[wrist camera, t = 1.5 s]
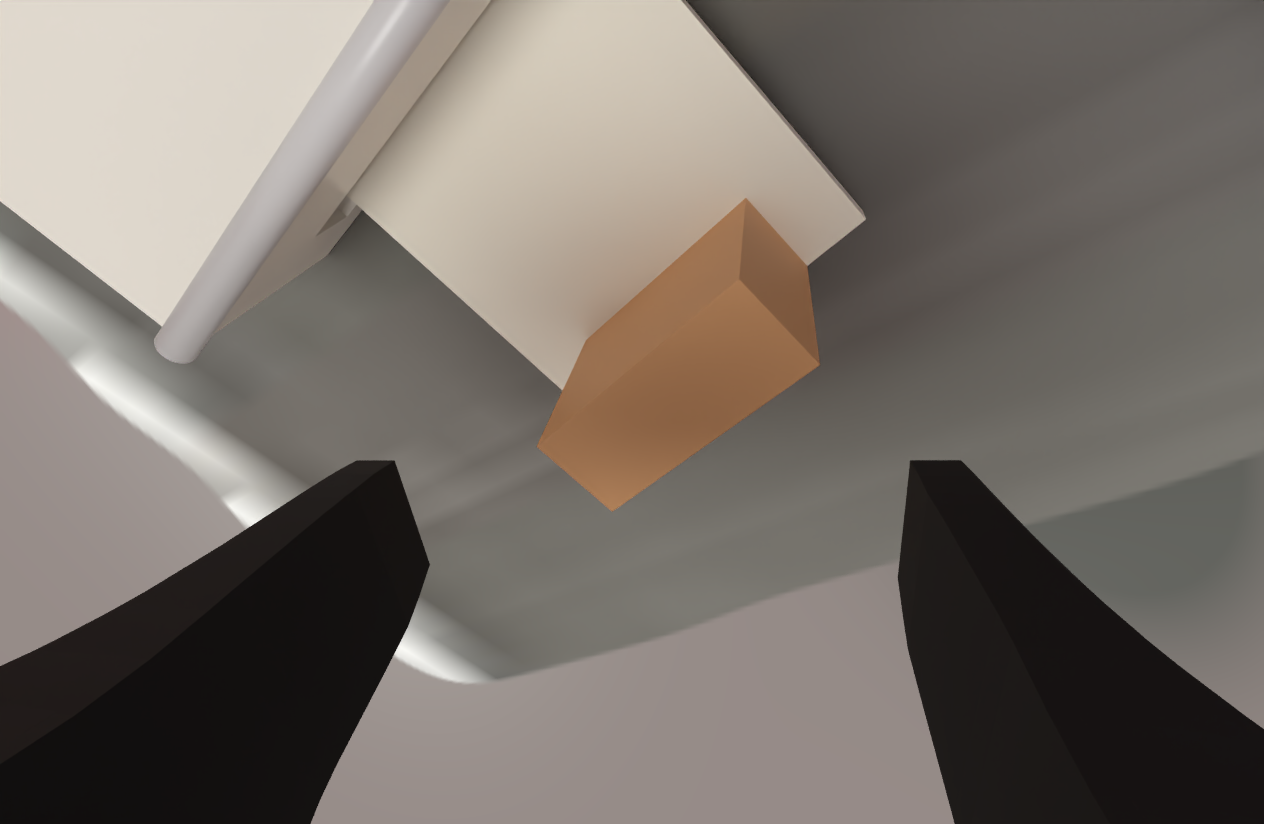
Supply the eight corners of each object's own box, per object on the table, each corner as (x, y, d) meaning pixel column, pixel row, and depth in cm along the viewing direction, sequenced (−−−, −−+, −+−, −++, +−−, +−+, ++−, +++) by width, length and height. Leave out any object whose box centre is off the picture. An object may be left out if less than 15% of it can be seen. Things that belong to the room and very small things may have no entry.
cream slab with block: (862, 210, 16) (899, 308, 11) (607, 415, 19) (562, 546, 15) (319, -435, 12) (57, -660, 7) (131, -20, 15) (-113, -8, 11)
